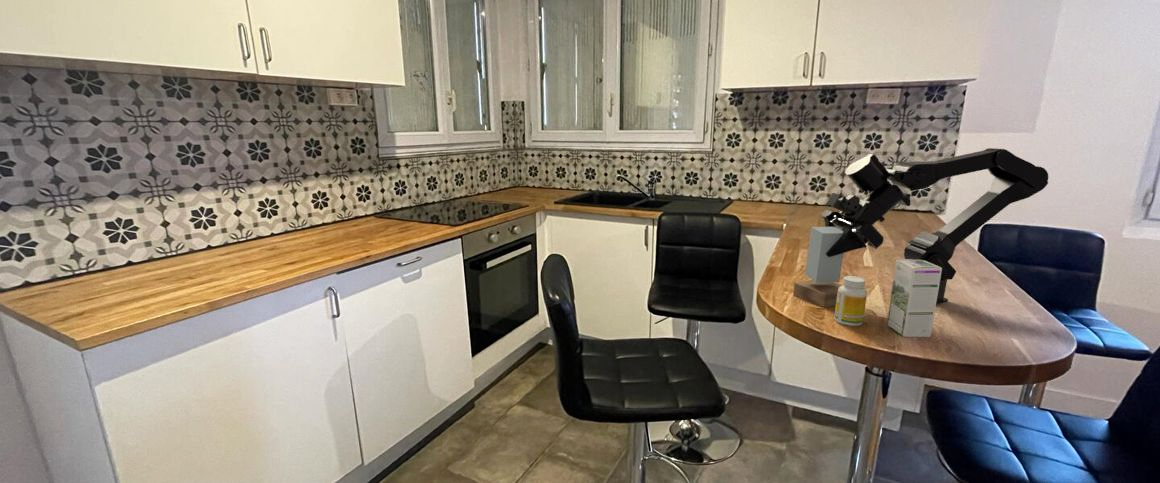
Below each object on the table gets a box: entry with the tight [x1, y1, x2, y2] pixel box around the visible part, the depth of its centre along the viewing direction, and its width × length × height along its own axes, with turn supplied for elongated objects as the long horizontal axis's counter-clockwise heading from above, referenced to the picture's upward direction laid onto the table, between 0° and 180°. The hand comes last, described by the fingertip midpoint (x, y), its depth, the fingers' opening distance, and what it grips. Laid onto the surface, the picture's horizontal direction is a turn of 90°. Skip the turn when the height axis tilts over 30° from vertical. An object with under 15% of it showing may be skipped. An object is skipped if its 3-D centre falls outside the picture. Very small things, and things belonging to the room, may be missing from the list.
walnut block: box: [792, 279, 843, 308], centre depth 117 cm, size 9×9×4 cm
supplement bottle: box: [833, 275, 868, 327], centre depth 103 cm, size 5×5×10 cm
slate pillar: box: [804, 226, 845, 283], centre depth 115 cm, size 6×6×12 cm
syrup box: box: [886, 258, 942, 338], centre depth 97 cm, size 6×6×14 cm
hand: (821, 252), depth 115 cm, fingers closed on slate pillar, 6 cm apart
